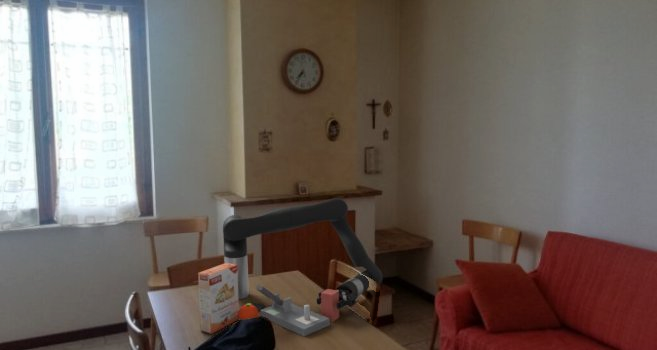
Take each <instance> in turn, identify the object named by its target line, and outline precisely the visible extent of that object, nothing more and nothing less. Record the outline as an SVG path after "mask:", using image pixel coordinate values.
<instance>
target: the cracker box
mask: <svg viewBox="0 0 657 350" xmlns="http://www.w3.org/2000/svg"><path fill="white" fill-rule="evenodd" d="M197 276H198V277H197V278H198V281H197V282H198V304H199V306H198V308H199V329H200V332H201V331H202V332H204V333H207V334H211V335H212V334H214V333H216V332H218V331H220V330H222V329H223V328H226V327H228V326H230V325H232V324H234V323H235V321H236V322H238V321H240V320H239V310H240V309H239V299H238V269H237V265H235V264H230V263H225V262H224V263H222V264H219V265H216V266H213V267H211V268H208V269H204V270H203V271H200V272H198V273H197ZM237 320H238V321H237ZM233 322H234V323H233ZM231 323H232V324H231ZM229 324H230V325H229ZM227 325H228V326H227ZM225 326H226V327H225Z"/></svg>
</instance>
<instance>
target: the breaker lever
mask: <svg viewBox="0 0 657 350" xmlns="http://www.w3.org/2000/svg"><path fill="white" fill-rule="evenodd" d="M255 290H256V291H258V292H259V293H261V294H262V295H264V296H265V297H266V298H268V299H269V300H271V302H272V301H273V302H275V303H276V304H277V305H279V306H282V307H283V300H282V299H281V298H280V299H279V298H278V297H277V296H275V295H274V294H275V293H272V292H271V291H270V290H268V289H267V288H266V287H265V286H263V285H260V284H258V285H257V286H256V288H255Z"/></svg>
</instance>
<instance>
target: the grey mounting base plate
mask: <svg viewBox="0 0 657 350" xmlns="http://www.w3.org/2000/svg"><path fill="white" fill-rule="evenodd" d="M273 294H274V295H275V296H277V297H278V298H279V299H281V297H280V292H279V293H278V292H276V293H273ZM282 301H283V307H282V306H279V305H277V304H276V303H275V302H273V301H272V300H271V306H268V307H264V308H263V309H262V310H260V311H259V312H260V313H259V314H260V317H261V316H263V317H266V318H268V319H269V320H270V321H269V320H268V321H269V322H272V323H273V324H276V325H279V326H280V327H283V328H285V329H287V330H289V331H292V332H294V333H296V334H298V335H300V336H302V337H306V336H308V335H311V334H313V333H315V332H317V331H319V330H322V329H324V328H327V327H329V326H330V325H331V324H330V323H331V322H330V318H327V317H325V316H322V315H321V313H317V312H315V311H312V310H311V309H310V308H311V305H310V304H305V305H303V307H302V306H299V305H297V304H294V303H292V298H291V297H290V296H289V297H287V298H284V299H283V300H282ZM263 317H262V318H263Z"/></svg>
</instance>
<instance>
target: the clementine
mask: <svg viewBox="0 0 657 350" xmlns="http://www.w3.org/2000/svg"><path fill="white" fill-rule="evenodd" d="M251 303H252V302H247V303H246V304H244V305H243V306H241V308H240V309H239V319H240V320H241V319H248V318H254V317H259V312H258V310H257V308H256V307H255V306H254V305H252V304H251ZM240 320H239V321H240Z"/></svg>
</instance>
